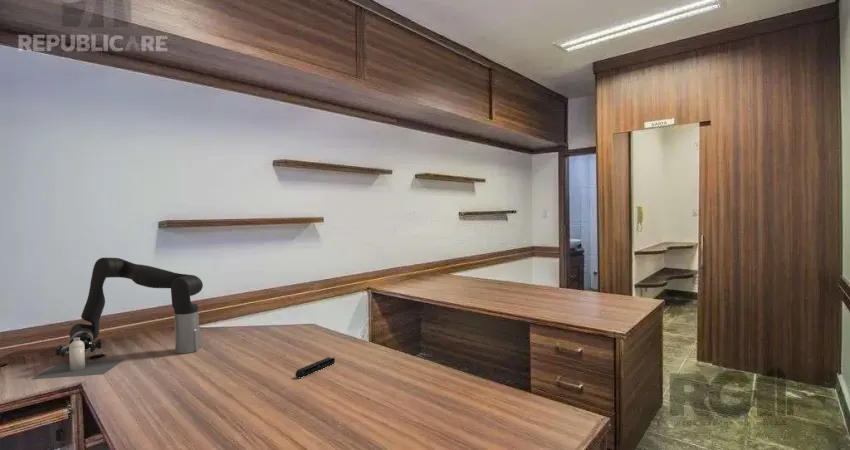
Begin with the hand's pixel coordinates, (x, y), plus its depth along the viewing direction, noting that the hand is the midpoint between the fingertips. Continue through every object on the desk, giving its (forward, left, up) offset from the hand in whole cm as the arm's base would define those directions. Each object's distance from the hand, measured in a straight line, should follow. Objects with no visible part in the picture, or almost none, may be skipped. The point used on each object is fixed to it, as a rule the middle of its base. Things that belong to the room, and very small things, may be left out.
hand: (77, 351), depth 163 cm
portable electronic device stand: (-93, +21, -7) cm, 96 cm away
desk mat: (-2, +2, -7) cm, 7 cm away
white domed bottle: (-1, +2, -6) cm, 7 cm away
